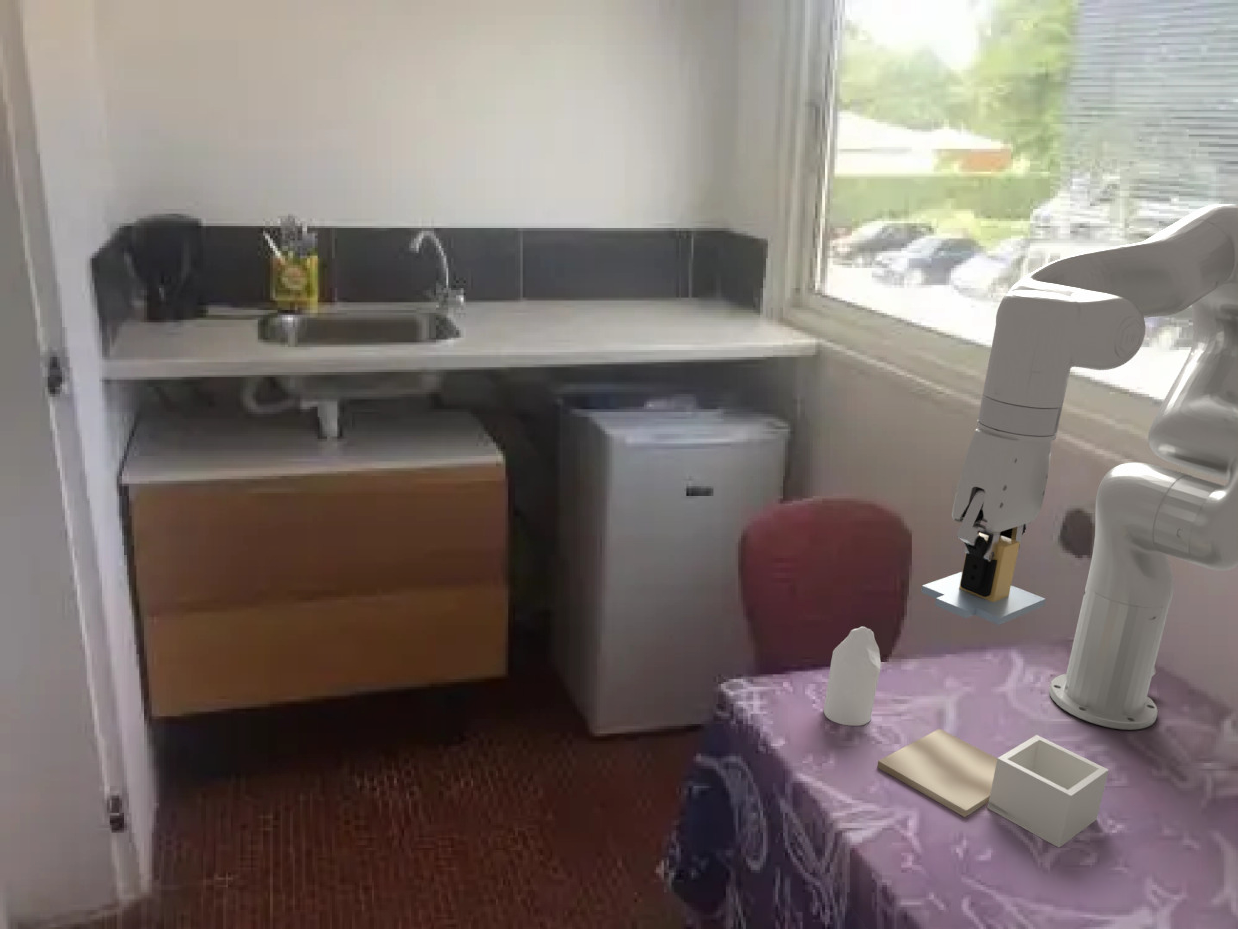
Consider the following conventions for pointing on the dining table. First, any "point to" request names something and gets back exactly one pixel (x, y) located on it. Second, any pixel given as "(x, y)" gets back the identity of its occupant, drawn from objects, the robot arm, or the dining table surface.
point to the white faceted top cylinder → (853, 679)
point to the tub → (1047, 790)
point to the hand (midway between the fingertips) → (984, 586)
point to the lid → (1003, 596)
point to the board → (944, 770)
